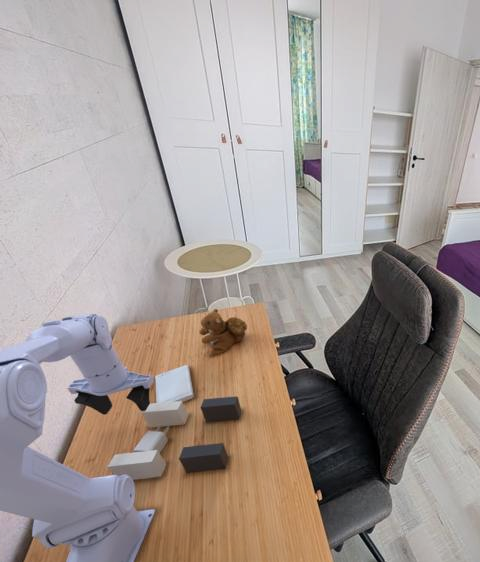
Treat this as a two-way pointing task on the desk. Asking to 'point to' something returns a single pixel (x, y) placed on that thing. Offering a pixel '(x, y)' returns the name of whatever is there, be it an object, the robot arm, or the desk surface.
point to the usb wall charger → (152, 441)
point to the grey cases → (213, 453)
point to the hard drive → (174, 385)
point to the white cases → (151, 461)
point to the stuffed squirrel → (221, 331)
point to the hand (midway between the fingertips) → (127, 408)
